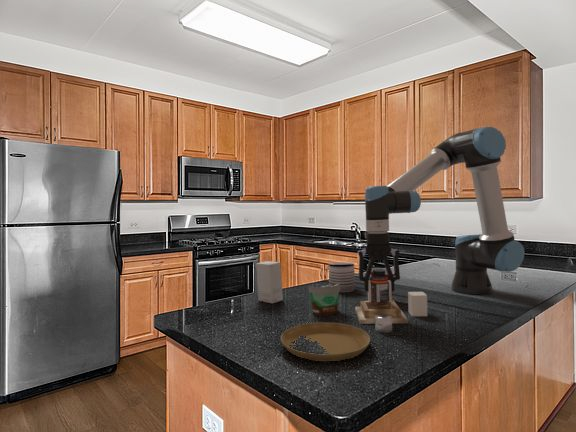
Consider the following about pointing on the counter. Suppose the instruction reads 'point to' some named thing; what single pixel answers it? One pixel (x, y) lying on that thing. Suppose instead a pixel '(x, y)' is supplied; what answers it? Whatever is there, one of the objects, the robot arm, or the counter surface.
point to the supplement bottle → (379, 287)
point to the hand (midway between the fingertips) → (379, 300)
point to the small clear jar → (383, 323)
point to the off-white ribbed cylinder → (342, 276)
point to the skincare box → (269, 281)
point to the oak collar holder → (379, 312)
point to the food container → (325, 299)
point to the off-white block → (417, 303)
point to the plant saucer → (328, 340)
